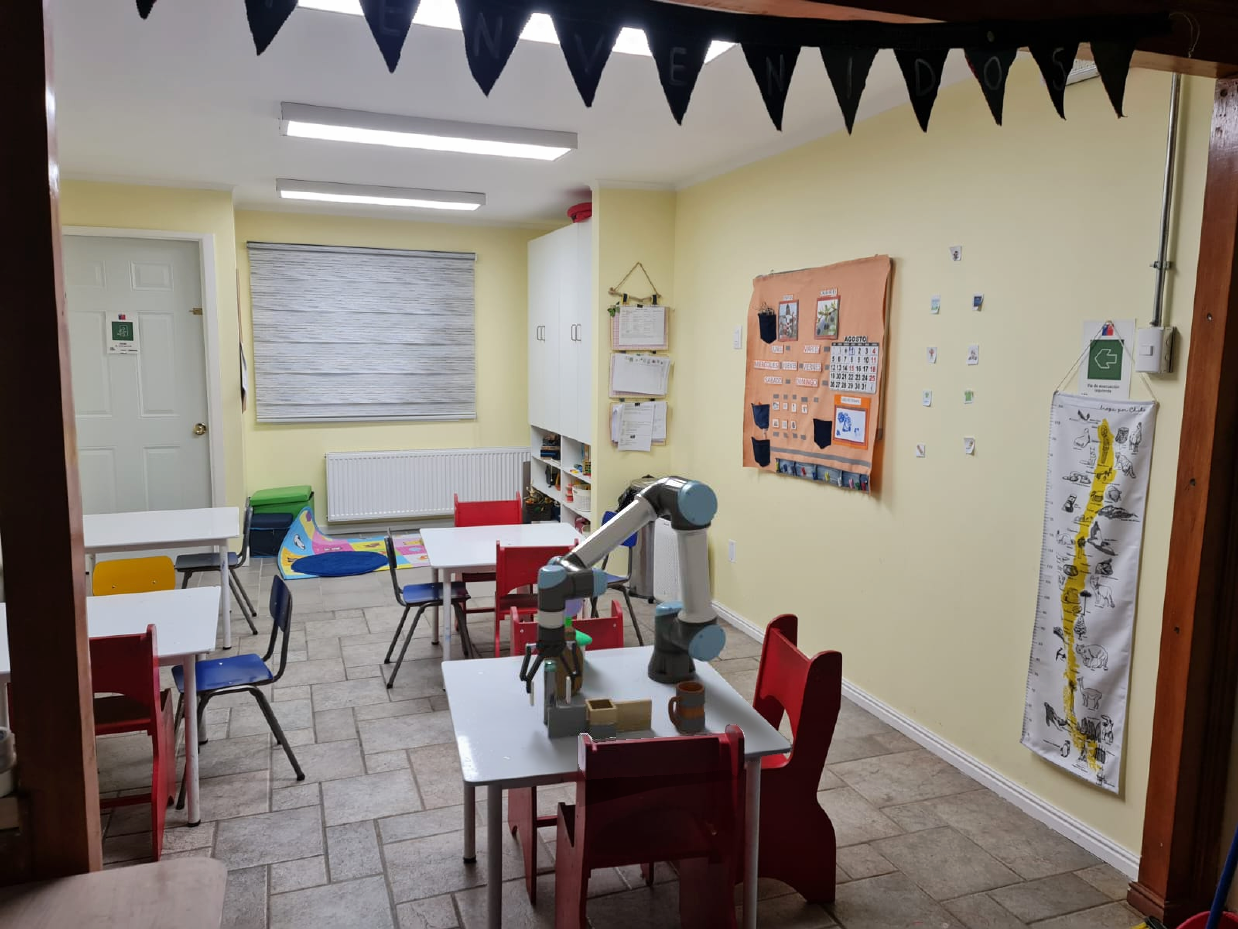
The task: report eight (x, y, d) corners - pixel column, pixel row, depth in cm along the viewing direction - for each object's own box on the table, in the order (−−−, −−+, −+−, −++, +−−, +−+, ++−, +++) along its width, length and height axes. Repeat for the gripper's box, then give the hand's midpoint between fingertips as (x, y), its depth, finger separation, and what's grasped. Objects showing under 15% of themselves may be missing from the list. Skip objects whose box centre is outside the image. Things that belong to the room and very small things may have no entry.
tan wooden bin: (646, 721, 235) (647, 694, 234) (654, 733, 229) (655, 705, 227) (584, 727, 231) (584, 699, 230) (589, 739, 224) (590, 711, 223)
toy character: (598, 665, 276) (599, 589, 272) (567, 674, 268) (568, 596, 264) (568, 651, 288) (570, 578, 284) (538, 659, 280) (539, 585, 276)
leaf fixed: (610, 726, 233) (610, 697, 232) (616, 738, 226) (617, 708, 225) (545, 731, 229) (546, 702, 228) (550, 744, 222) (550, 714, 221)
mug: (657, 728, 232) (658, 687, 230) (690, 717, 239) (691, 677, 238) (678, 741, 225) (680, 698, 224) (711, 729, 233) (713, 688, 231)
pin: (555, 719, 236) (555, 660, 234) (557, 724, 233) (558, 664, 231) (542, 720, 236) (543, 660, 233) (544, 725, 232) (545, 665, 230)
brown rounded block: (551, 701, 248) (551, 635, 245) (541, 691, 254) (542, 626, 251) (585, 695, 252) (586, 630, 250) (575, 686, 259) (576, 622, 256)
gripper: (588, 616, 237) (587, 694, 240) (508, 621, 231) (508, 700, 235) (594, 625, 229) (592, 705, 233) (511, 630, 224) (511, 711, 227)
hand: (550, 702), depth 234 cm, fingers open, 9 cm apart
